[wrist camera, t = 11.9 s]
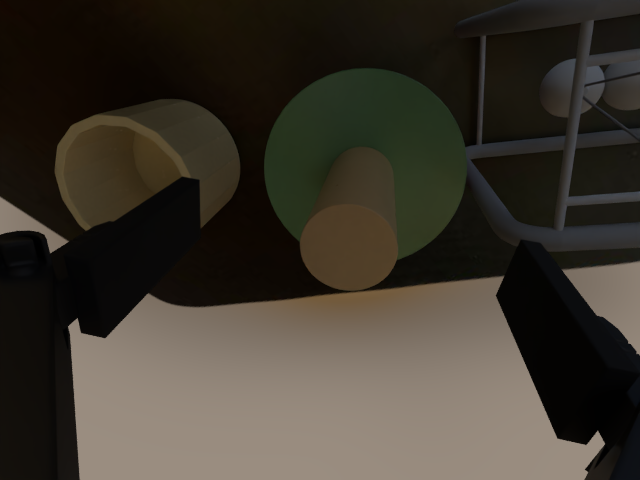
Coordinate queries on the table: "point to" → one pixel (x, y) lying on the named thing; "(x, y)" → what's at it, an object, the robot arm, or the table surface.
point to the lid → (364, 173)
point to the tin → (144, 159)
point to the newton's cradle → (564, 101)
